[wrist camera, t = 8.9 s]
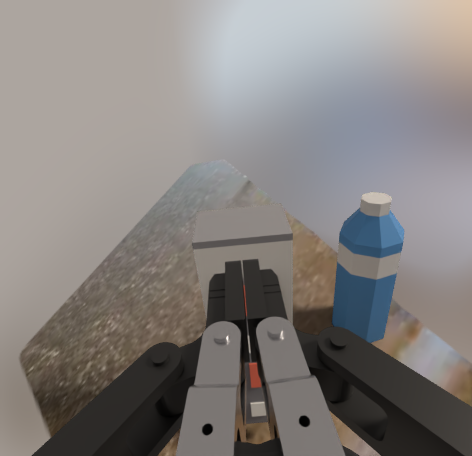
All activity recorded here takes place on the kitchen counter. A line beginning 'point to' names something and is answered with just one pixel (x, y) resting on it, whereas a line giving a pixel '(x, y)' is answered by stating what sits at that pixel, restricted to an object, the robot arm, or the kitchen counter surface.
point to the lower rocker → (254, 395)
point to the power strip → (245, 245)
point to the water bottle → (367, 267)
